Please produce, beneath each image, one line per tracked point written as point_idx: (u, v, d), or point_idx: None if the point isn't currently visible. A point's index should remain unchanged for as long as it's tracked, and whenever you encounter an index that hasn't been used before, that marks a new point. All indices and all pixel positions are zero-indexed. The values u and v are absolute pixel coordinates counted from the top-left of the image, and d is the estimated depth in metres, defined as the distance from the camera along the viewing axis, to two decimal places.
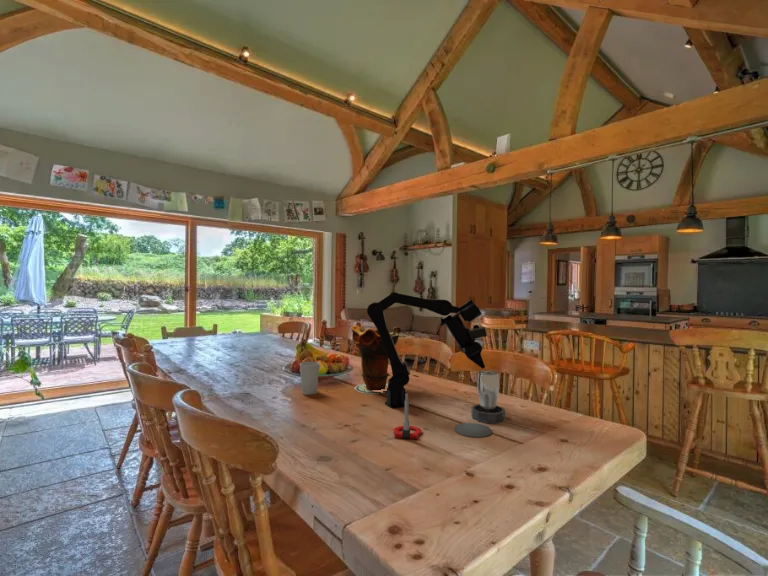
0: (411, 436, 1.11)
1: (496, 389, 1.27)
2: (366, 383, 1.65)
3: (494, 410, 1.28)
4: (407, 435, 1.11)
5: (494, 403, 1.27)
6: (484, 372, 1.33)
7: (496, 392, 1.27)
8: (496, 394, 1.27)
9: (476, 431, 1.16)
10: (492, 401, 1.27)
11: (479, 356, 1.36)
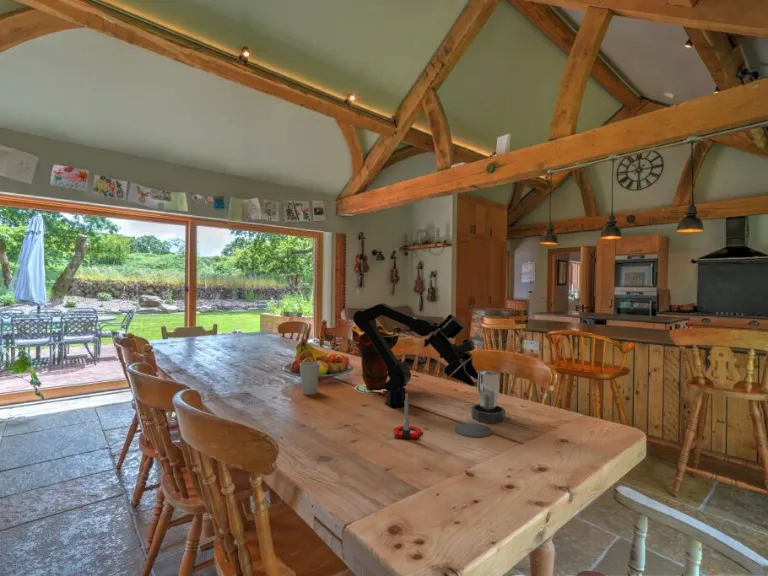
0: (411, 436, 1.11)
1: (496, 389, 1.27)
2: (366, 383, 1.65)
3: (494, 410, 1.28)
4: (407, 435, 1.11)
5: (494, 403, 1.27)
6: (484, 372, 1.33)
7: (496, 392, 1.27)
8: (496, 394, 1.27)
9: (476, 431, 1.16)
10: (492, 401, 1.27)
11: (464, 373, 1.27)
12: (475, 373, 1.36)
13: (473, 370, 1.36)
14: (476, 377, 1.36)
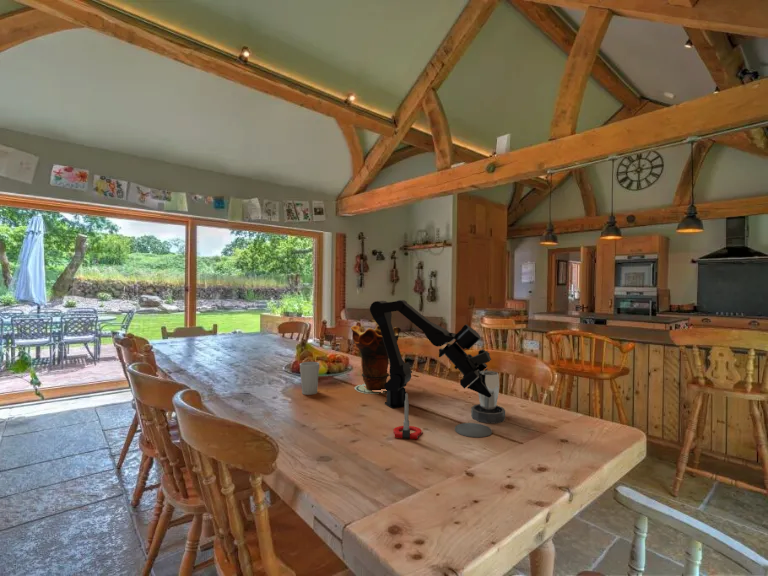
0: (411, 436, 1.11)
1: (496, 389, 1.27)
2: (366, 383, 1.65)
3: (494, 410, 1.28)
4: (406, 435, 1.11)
5: (494, 403, 1.27)
6: (484, 372, 1.33)
7: (496, 392, 1.27)
8: (496, 394, 1.27)
9: (476, 431, 1.16)
10: (493, 401, 1.27)
11: (481, 384, 1.26)
12: None
13: None
14: None
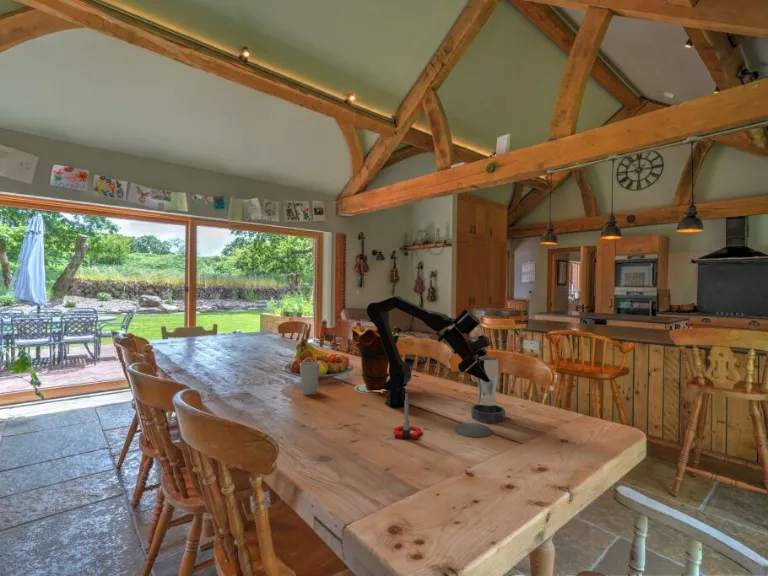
0: (411, 436, 1.11)
1: (495, 374, 1.26)
2: (366, 383, 1.65)
3: (493, 396, 1.26)
4: (406, 435, 1.11)
5: (493, 388, 1.26)
6: (484, 358, 1.31)
7: (495, 377, 1.26)
8: (495, 379, 1.26)
9: (476, 431, 1.16)
10: (491, 387, 1.26)
11: (479, 369, 1.25)
12: None
13: None
14: None
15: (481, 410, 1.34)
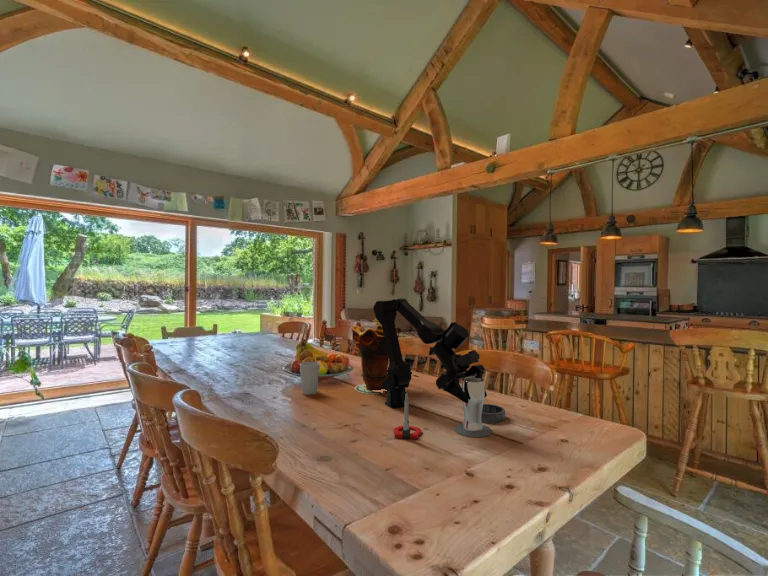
0: (411, 436, 1.11)
1: (477, 398, 1.15)
2: (366, 383, 1.65)
3: (476, 421, 1.16)
4: (406, 435, 1.11)
5: (476, 413, 1.16)
6: (473, 379, 1.21)
7: (477, 402, 1.15)
8: (478, 404, 1.15)
9: None
10: (473, 411, 1.16)
11: (457, 388, 1.15)
12: None
13: None
14: None
15: None
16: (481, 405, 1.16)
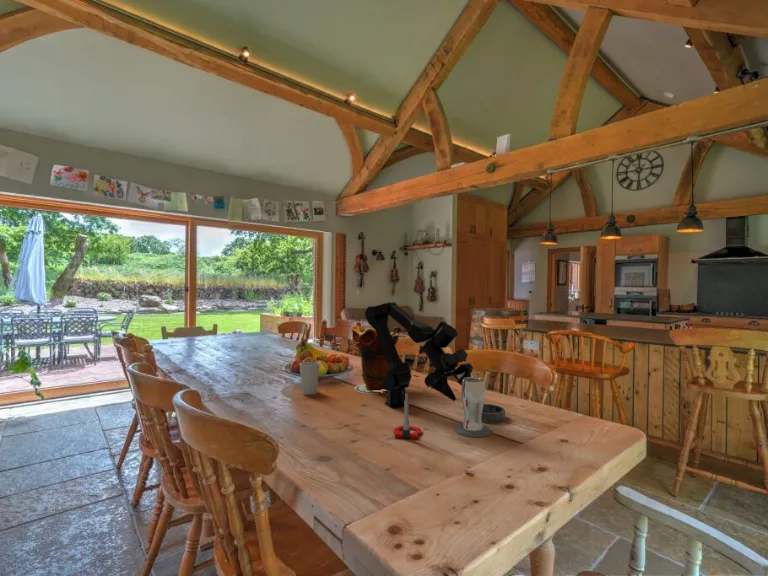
0: (411, 436, 1.11)
1: (477, 398, 1.15)
2: (366, 383, 1.65)
3: (476, 421, 1.16)
4: (406, 435, 1.11)
5: (476, 413, 1.16)
6: (473, 379, 1.21)
7: (478, 402, 1.15)
8: (478, 404, 1.15)
9: None
10: (473, 411, 1.16)
11: (445, 386, 1.19)
12: None
13: None
14: None
15: None
16: (481, 405, 1.16)
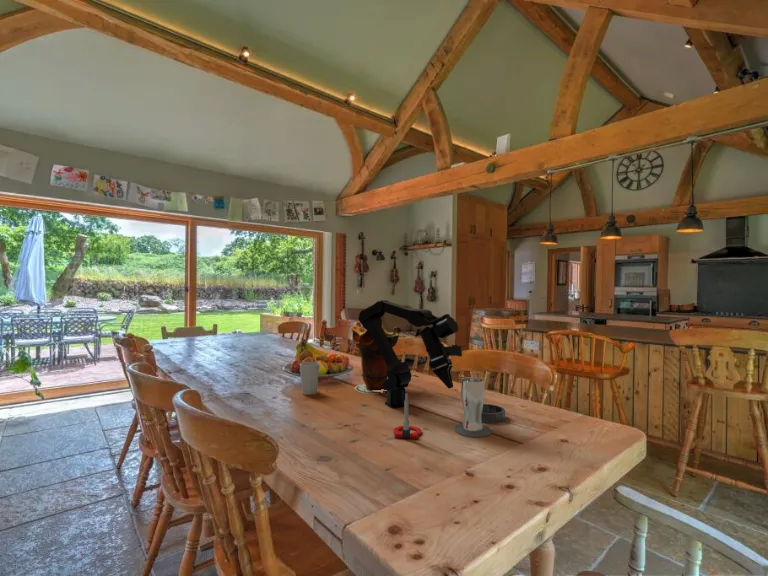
0: (411, 436, 1.11)
1: (477, 398, 1.15)
2: (366, 383, 1.65)
3: (476, 421, 1.16)
4: (406, 435, 1.11)
5: (476, 413, 1.16)
6: (473, 379, 1.21)
7: (477, 401, 1.15)
8: (478, 404, 1.15)
9: None
10: (473, 411, 1.16)
11: (446, 373, 1.24)
12: (450, 380, 1.33)
13: (449, 377, 1.34)
14: None
15: None
16: (481, 405, 1.16)
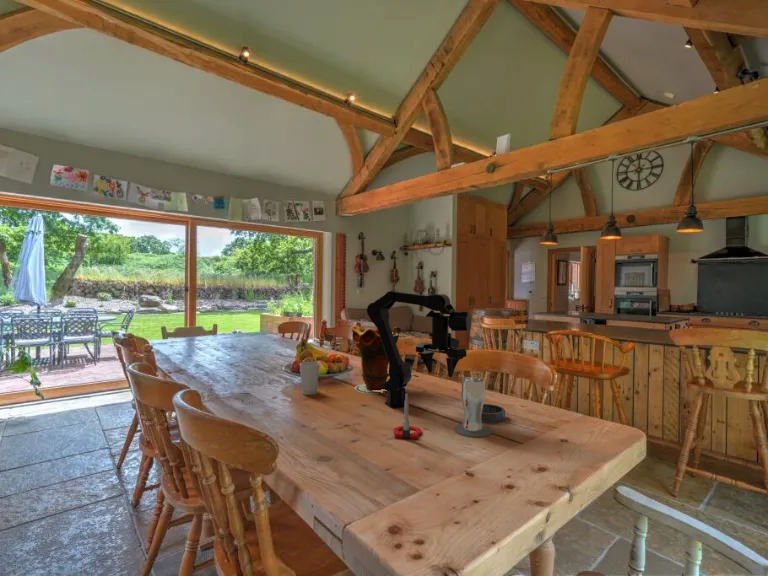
0: (411, 436, 1.11)
1: (477, 398, 1.15)
2: (366, 383, 1.65)
3: (476, 421, 1.16)
4: (406, 435, 1.11)
5: (476, 413, 1.16)
6: (473, 379, 1.21)
7: (478, 401, 1.15)
8: (478, 404, 1.15)
9: None
10: (473, 411, 1.16)
11: (455, 363, 1.32)
12: (431, 366, 1.39)
13: (431, 362, 1.39)
14: (430, 370, 1.39)
15: None
16: (481, 405, 1.16)
